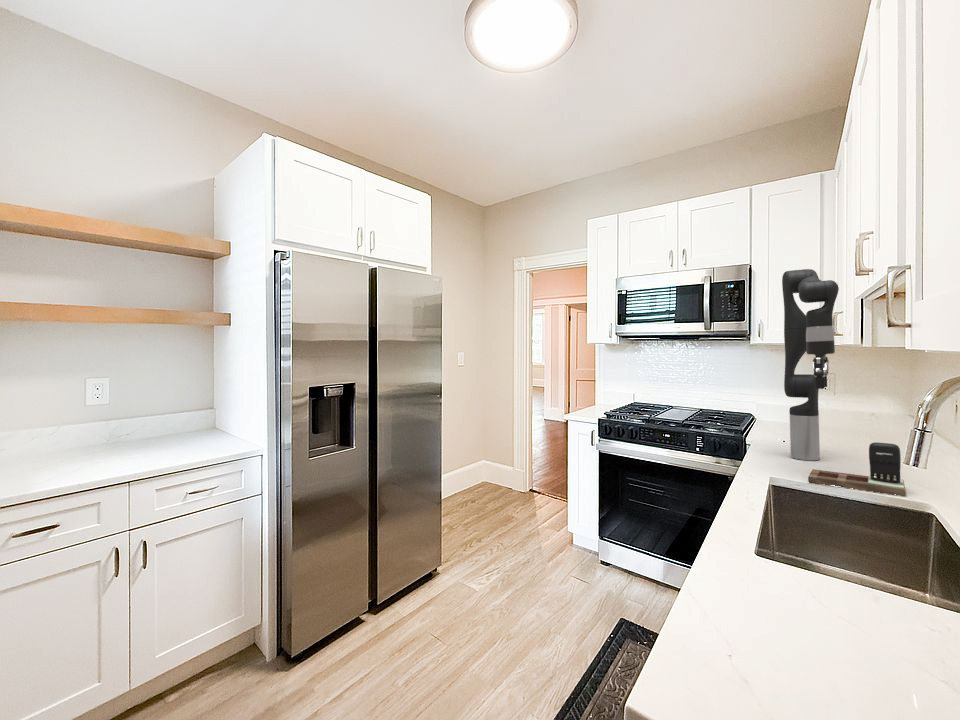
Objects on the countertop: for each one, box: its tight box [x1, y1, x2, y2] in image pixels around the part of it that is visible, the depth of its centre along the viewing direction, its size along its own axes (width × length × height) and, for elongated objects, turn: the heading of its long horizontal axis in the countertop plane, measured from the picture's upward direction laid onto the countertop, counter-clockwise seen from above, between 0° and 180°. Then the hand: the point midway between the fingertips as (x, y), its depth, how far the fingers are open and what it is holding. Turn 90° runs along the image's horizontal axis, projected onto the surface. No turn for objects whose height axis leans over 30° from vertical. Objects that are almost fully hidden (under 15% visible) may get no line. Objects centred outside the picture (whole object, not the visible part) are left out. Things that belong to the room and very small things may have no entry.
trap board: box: [807, 468, 906, 497], centre depth 133 cm, size 12×22×2 cm, turn 47°
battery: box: [868, 441, 902, 483], centre depth 128 cm, size 7×4×11 cm, turn 46°
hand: (821, 387), depth 145 cm, fingers open, 8 cm apart
